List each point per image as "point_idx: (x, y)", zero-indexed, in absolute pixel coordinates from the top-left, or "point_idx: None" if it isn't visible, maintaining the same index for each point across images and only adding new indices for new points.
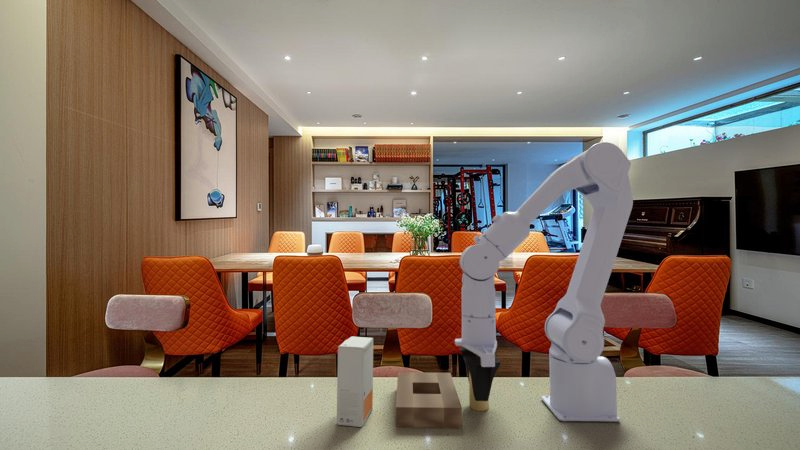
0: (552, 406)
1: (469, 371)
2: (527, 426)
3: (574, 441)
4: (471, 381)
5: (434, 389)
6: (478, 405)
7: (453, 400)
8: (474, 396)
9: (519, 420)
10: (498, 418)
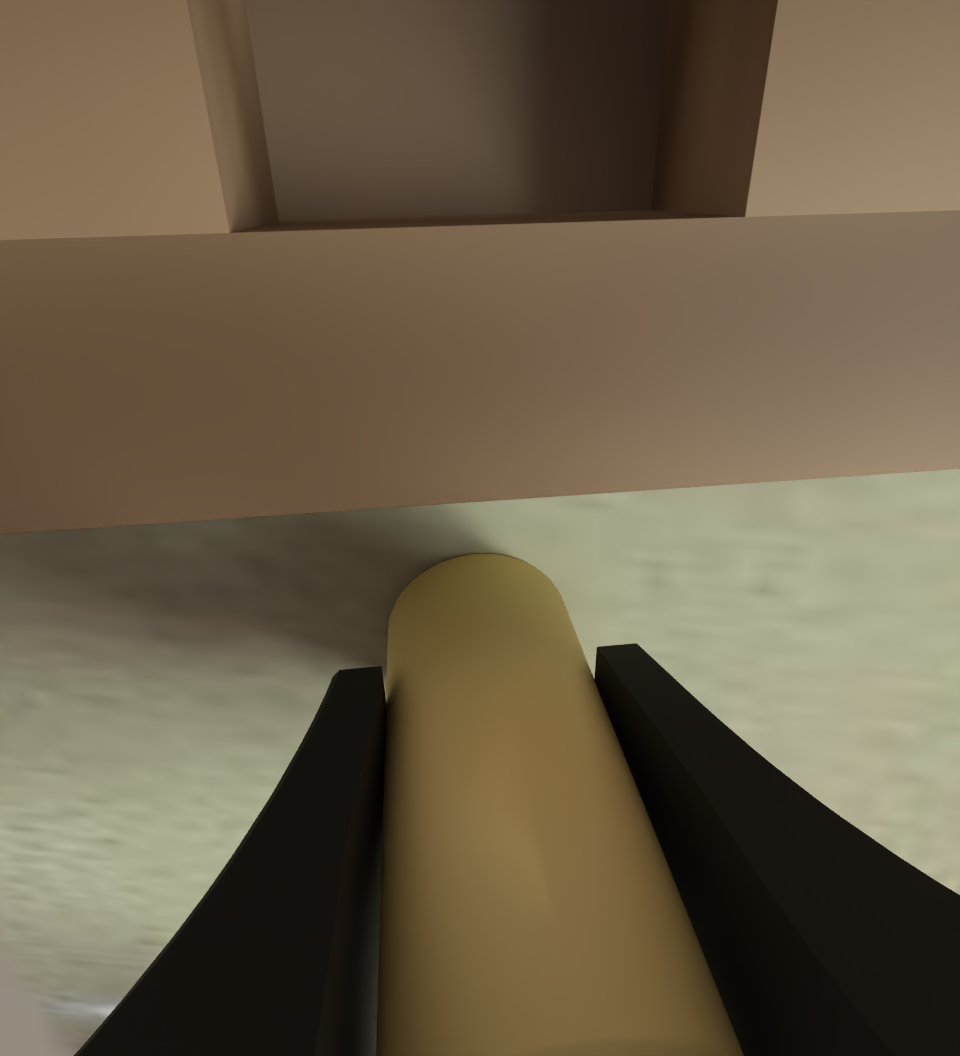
0: None
1: (296, 990)
2: (196, 884)
3: (82, 1037)
4: (447, 786)
5: (703, 137)
6: (389, 651)
7: (20, 442)
8: (330, 693)
9: None
10: (276, 745)
